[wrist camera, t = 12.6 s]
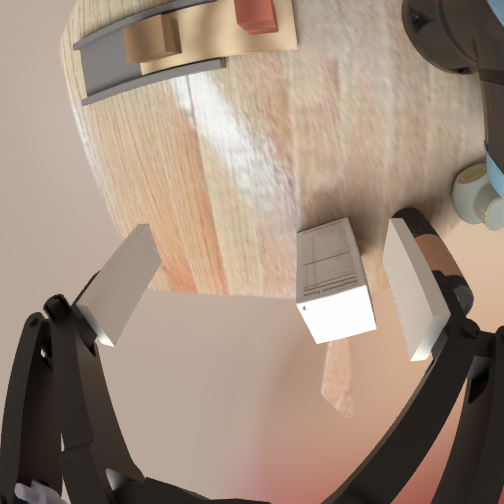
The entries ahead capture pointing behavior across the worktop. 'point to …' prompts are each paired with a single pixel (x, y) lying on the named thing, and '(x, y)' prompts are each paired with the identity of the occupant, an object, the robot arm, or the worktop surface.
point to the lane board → (115, 61)
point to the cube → (152, 39)
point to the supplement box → (332, 283)
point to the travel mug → (437, 254)
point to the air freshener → (478, 198)
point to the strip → (230, 31)
